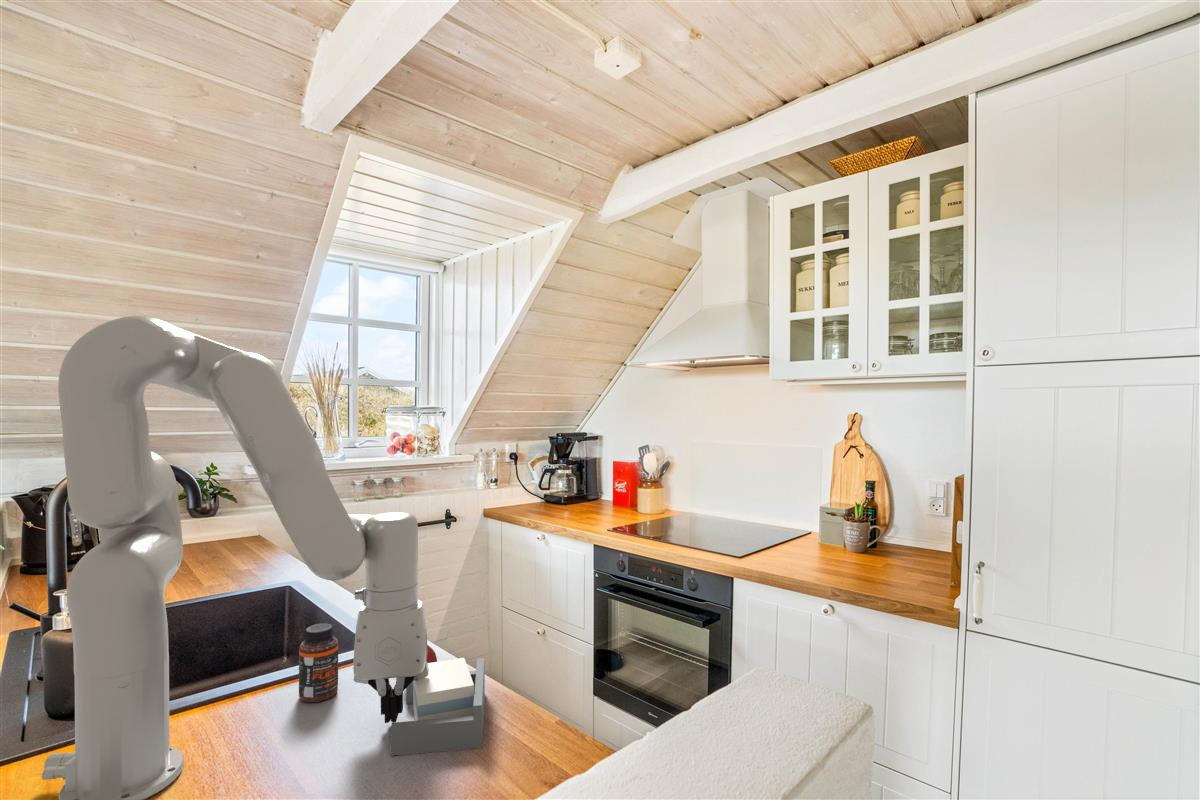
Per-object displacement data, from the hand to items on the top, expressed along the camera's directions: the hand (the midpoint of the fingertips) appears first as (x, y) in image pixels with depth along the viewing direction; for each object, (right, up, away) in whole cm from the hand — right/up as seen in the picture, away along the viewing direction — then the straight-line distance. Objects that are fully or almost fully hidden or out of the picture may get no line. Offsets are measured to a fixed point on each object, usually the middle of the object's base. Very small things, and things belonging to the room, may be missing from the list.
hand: (392, 717), depth 91 cm
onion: (0, -1, +13) cm, 13 cm away
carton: (+7, -1, +2) cm, 8 cm away
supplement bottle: (-15, -2, +10) cm, 18 cm away
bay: (+7, -1, +1) cm, 7 cm away
